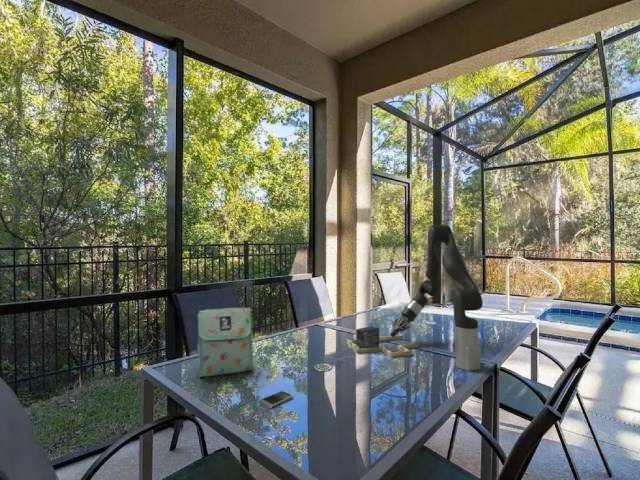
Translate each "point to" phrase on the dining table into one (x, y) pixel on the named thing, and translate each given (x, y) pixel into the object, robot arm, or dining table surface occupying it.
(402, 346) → the trap course
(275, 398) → the cell phone
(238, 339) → the lunch bag
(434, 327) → the dining table surface
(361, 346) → the small box
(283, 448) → the dining table surface
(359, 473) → the dining table surface
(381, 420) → the dining table surface
